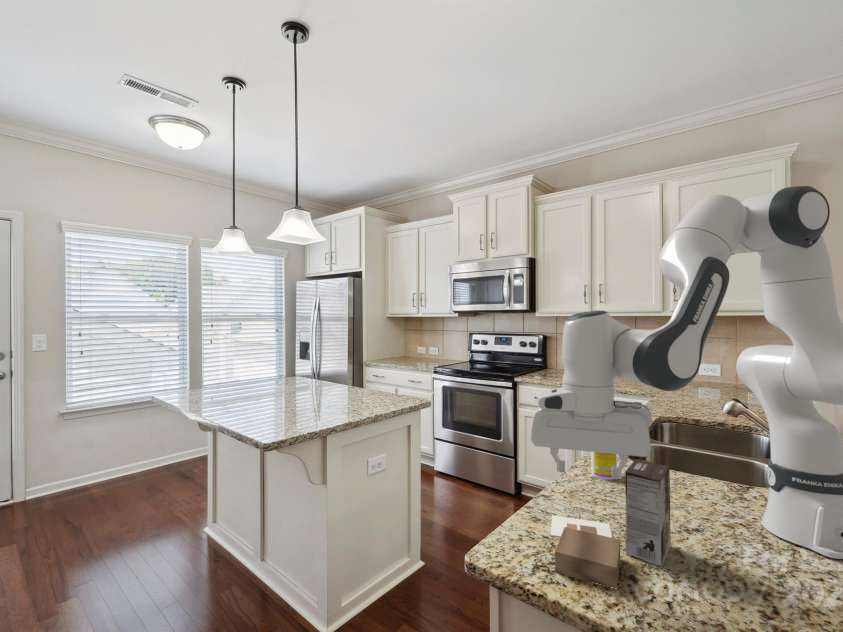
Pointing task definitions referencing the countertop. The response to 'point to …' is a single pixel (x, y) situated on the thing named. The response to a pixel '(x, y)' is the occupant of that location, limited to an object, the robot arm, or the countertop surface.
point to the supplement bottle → (602, 465)
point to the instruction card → (578, 526)
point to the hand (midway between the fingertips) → (588, 474)
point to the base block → (588, 557)
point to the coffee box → (648, 511)
